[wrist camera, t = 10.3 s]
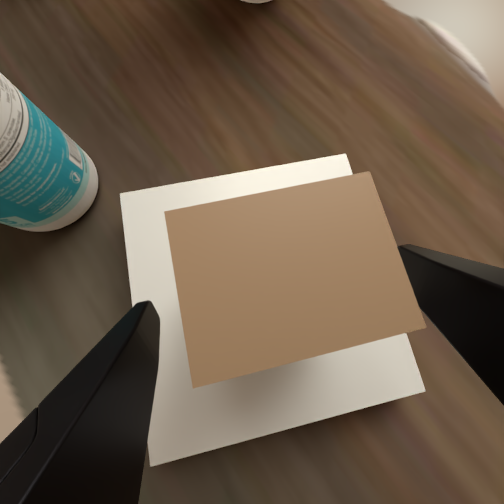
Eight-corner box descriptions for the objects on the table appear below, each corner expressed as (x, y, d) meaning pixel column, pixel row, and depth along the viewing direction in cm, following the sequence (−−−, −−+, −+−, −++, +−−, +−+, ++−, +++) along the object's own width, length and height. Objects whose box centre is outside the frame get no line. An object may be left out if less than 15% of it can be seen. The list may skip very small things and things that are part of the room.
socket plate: (397, 377, 16) (425, 391, 13) (166, 438, 15) (150, 466, 12) (332, 172, 19) (345, 153, 16) (137, 208, 18) (119, 193, 15)
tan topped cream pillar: (307, 309, 17) (426, 327, 6) (226, 329, 16) (193, 388, 5) (291, 250, 17) (369, 171, 7) (214, 267, 17) (164, 211, 6)
